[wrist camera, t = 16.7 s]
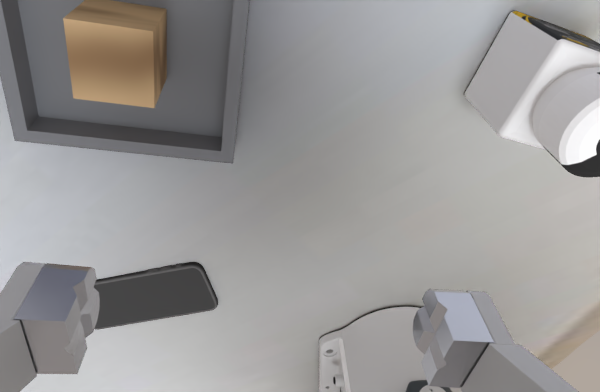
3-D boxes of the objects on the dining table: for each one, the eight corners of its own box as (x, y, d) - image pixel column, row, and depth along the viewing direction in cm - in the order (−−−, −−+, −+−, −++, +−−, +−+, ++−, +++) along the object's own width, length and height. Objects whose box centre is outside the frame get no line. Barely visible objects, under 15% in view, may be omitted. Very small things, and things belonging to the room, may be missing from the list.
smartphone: (58, 288, 47) (199, 264, 46) (61, 282, 47) (200, 257, 46) (91, 332, 51) (220, 310, 50) (94, 325, 52) (221, 303, 51)
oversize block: (166, 78, 34) (154, 108, 30) (95, 69, 33) (73, 98, 29) (166, 8, 31) (153, 31, 27) (88, -4, 30) (62, 18, 26)
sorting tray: (234, 144, 38) (232, 163, 36) (31, 121, 36) (14, 140, 33) (256, -71, 29) (256, -64, 27) (-17, -122, 27) (-44, -120, 24)
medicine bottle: (587, 36, 35) (711, 103, 26) (532, 116, 39) (622, 201, 29) (510, 8, 33) (612, 68, 24) (461, 95, 37) (531, 177, 28)
